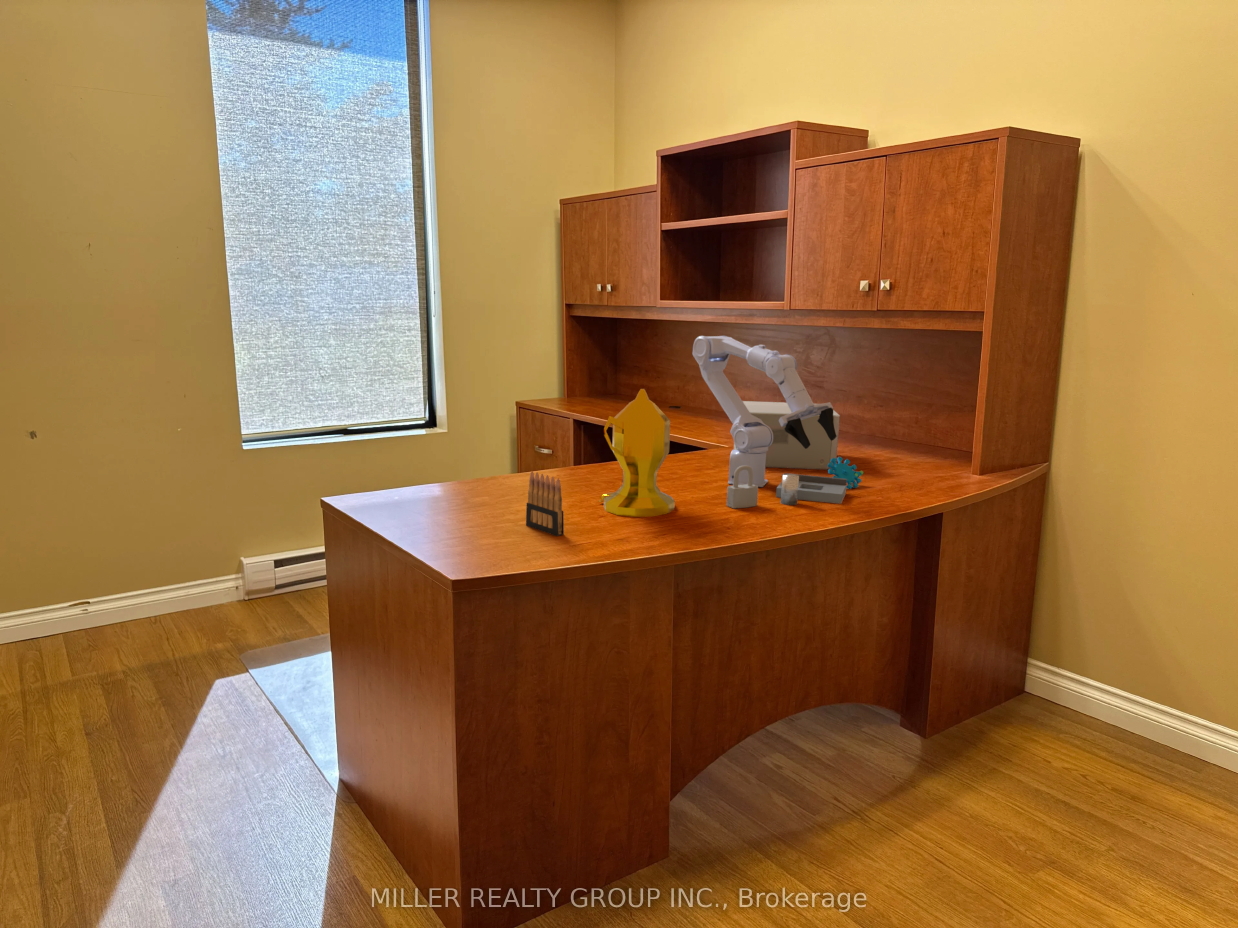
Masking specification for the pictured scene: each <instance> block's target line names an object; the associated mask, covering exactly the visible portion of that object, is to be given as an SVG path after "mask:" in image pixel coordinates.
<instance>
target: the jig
mask: <svg viewBox="0 0 1238 928" xmlns="http://www.w3.org/2000/svg"><path fill="white" fill-rule="evenodd" d="M783 474H790V472H789V473H787V472H784V473H783ZM795 474H796V475H799V484H798V499H797V500H800V501H801V500H803V501H811V502H819V503H820V502H821V503H830V504H837V505H838V504H842V503H843V500H844V498H845V496H846V493H847V488H846V486H847V485H848V483H847V479H842V478H832V477H833V476H832V477H829V476H820V475H811V474H810V475H809V474H799V473H795ZM781 488H782V481H781V482H780V483H779V484H778V485H777V487H776V490H775V491H776V493H775V497H776V498H780V499H781Z"/></svg>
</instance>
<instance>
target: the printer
mask: <svg viewBox="0 0 1238 928" xmlns="http://www.w3.org/2000/svg"><path fill="white" fill-rule="evenodd" d="M742 401H743V403H744V404H745V406H746V407H747V409H748V410H749V412H750V413H751V415H753V416H755V417H757V418H759V419H761V420H762V422H763V423H764V424H765V425H767V426H769V427H770V428H771V430H772V432H773V442H772V444H771V445H770V446H769V447H768V451H766V465H765V468H779V469H798V470H799V469H802V470H820V471H821V470H826V471H828V470H829V469H831V468H830V467H828V466H827V465H828V464H829V463H830V462H831V459H832V458H836V461H837V458H838V457H837V456H838V445H839V433H840V431H839V430H840V419H841V415H840V414H839V413H838V412H836V411H835V410H834V409H833V423H834V428H835V433H836V436H837V437H836V438H835V439H834V440H832V441H831V440H830V439H829V437H828V435H827V433H826V431H825V430H824V428H823V427H822V426H821V425H820V423H819V422H818V421H817V420H818V419H819V416H820V415H816V416H813V417H809V418H806V419H803V420H801V423H802V426H803V429H804V431H805V434H806V436H807V437H808V439H809V442H810V446H809V447H808V448H807V449H805V448H804V447H803V446H802V444H801V443H800V442H799V441H798V440H797V439H796V438H794V437H793V436H792V435H790V434H789V433H787V432H786V431H785V429H784V428H785V427H786V426H783V427H782V426H781V425H780V423H779V421H778V420H779V419H780V418H781V417H782V416H785V415H788V414H790V413H792V412H791V410H790V408H789V406H788V404H787V402H784V401H783V402H779V401H777V402H775V401H751V400H742ZM733 450H737V447H736V446H735V444H734V443H733ZM833 466H834V464H833ZM834 467H835V466H834ZM832 470H833V469H832ZM833 471H834V470H833Z"/></svg>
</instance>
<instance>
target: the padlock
mask: <svg viewBox="0 0 1238 928" xmlns="http://www.w3.org/2000/svg"><path fill="white" fill-rule="evenodd" d="M742 470H747V471H748V484H742V485H738V477H739V473H740V471H742ZM752 483H753V471H752V469H751V467H749V466H746V465H743V466H740V467H738V468H737V469H736V470H735V472H734V483H733V484H732V485H728V486H727V488H726V491H727V492H726V506H727V507H729V508H732V509H743V508H745V509H746V508H751V507H757V506H758V497H759V496H758V495H759V487H758V486H755V485H752Z"/></svg>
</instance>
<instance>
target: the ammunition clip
mask: <svg viewBox="0 0 1238 928" xmlns="http://www.w3.org/2000/svg"><path fill="white" fill-rule="evenodd" d="M528 482H529V483H528V490H527V494H528V495H527V502H526V508H525V509H526V510H525V511H526V512H525V514H526V516H525V517H526V518H525V521H526V522H525V526H527V527H529V528H533V529H535V530H538V531H540V532H543V533H546V534H549V535H552V536H555V537H559V536H563V535H564V534H565V532H564V529H565V526H564V523H565V521H564V519H565V518H564V510H563V498H562V485H561V480H560V478H557V479H556V481H555V477H554V476H552V477H551V479H550V476H549V475H547V474H546V477H545V475H544V474H543V473H541V475H539V472H536V473H534V471H533V470H531V471H530V474H529V481H528Z"/></svg>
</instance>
